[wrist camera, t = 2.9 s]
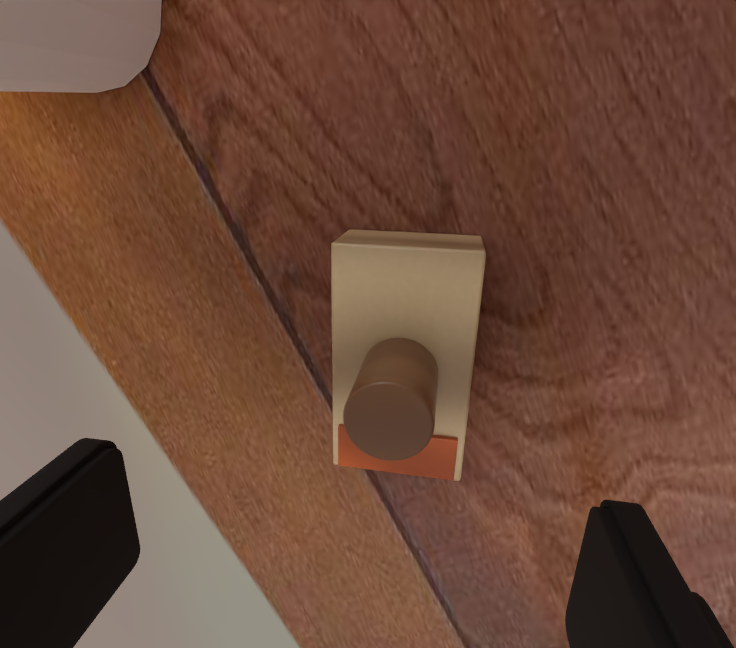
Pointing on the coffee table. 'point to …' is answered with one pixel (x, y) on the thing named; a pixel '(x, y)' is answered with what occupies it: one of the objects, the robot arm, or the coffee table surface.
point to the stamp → (404, 349)
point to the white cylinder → (75, 43)
